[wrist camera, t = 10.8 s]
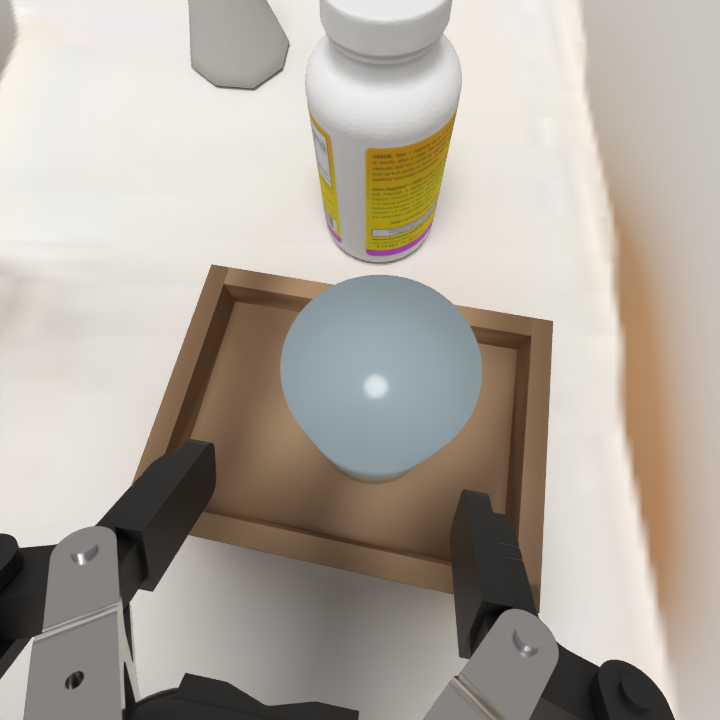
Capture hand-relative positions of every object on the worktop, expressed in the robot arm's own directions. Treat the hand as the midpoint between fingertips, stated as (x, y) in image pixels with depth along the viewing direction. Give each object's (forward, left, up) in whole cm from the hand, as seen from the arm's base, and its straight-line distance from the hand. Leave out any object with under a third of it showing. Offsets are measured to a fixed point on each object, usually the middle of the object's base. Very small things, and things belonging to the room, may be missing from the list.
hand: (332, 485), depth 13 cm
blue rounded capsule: (+1, +3, -7) cm, 8 cm away
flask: (-14, +29, -8) cm, 34 cm away
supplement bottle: (-1, +16, -8) cm, 18 cm away
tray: (0, +3, -8) cm, 9 cm away
